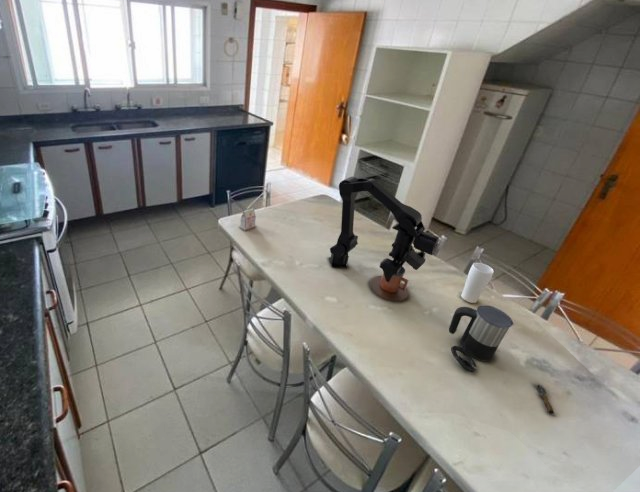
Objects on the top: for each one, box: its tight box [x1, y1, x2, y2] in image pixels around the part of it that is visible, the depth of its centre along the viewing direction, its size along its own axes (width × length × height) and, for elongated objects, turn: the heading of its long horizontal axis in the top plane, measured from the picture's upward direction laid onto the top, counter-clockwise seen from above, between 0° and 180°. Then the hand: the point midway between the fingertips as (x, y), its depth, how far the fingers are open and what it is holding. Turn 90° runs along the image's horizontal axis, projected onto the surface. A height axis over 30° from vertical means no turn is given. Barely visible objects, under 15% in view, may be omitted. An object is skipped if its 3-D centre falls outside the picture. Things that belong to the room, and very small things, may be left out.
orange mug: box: [380, 266, 409, 293], centre depth 127 cm, size 9×7×9 cm
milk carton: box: [239, 207, 257, 231], centre depth 166 cm, size 4×7×10 cm, turn 129°
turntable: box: [369, 275, 409, 303], centre depth 130 cm, size 14×14×1 cm
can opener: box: [536, 384, 555, 414], centre depth 91 cm, size 9×2×1 cm, turn 152°
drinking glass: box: [460, 262, 495, 304], centre depth 124 cm, size 7×7×15 cm
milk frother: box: [448, 304, 514, 372], centre depth 100 cm, size 14×16×15 cm
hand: (392, 276), depth 127 cm, fingers open, 9 cm apart
